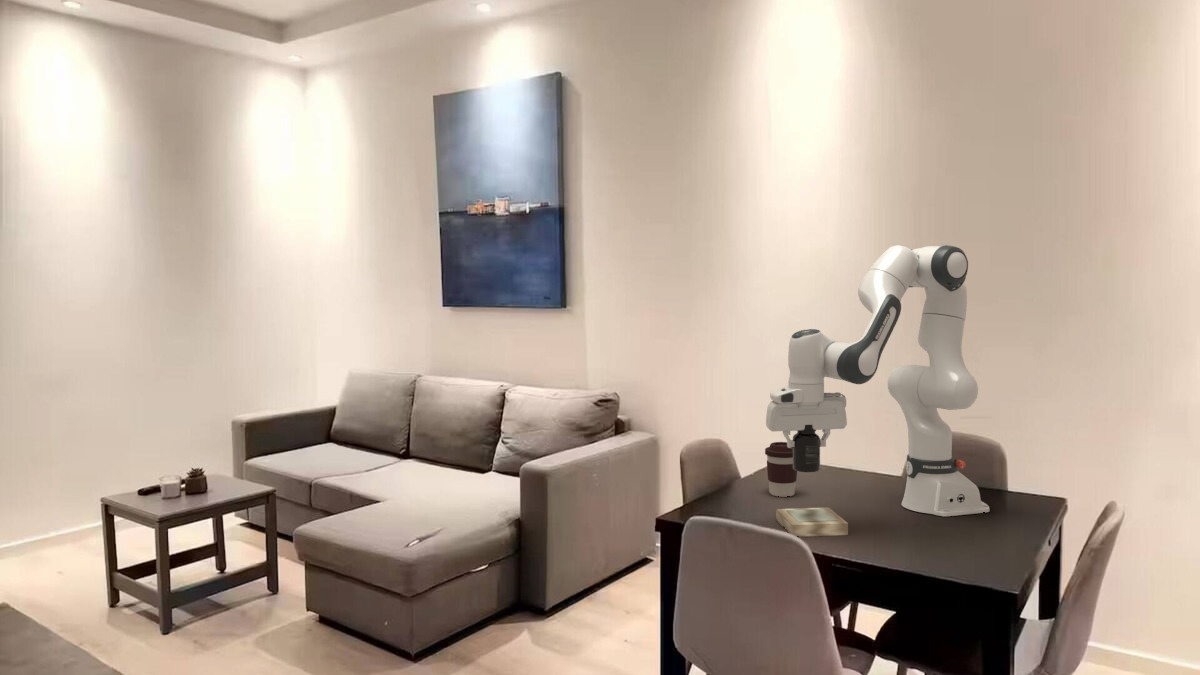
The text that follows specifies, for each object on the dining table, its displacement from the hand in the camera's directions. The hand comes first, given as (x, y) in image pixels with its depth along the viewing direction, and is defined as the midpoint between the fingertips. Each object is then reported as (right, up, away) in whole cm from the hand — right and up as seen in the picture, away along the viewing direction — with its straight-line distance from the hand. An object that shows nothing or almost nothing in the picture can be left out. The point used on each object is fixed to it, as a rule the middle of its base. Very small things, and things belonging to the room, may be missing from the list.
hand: (806, 447), depth 211 cm
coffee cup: (+1, -18, +32) cm, 37 cm away
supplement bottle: (0, -6, 0) cm, 6 cm away
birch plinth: (+1, -21, 0) cm, 21 cm away
